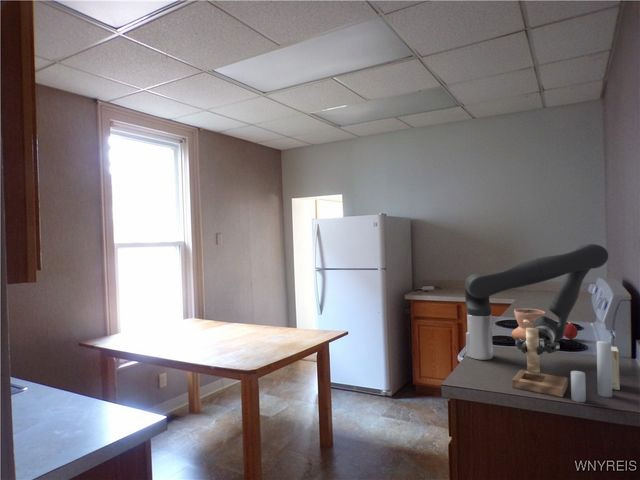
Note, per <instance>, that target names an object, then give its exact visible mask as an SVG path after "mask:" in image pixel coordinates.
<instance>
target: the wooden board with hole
mask: <svg viewBox="0 0 640 480" xmlns="http://www.w3.org/2000/svg"><path fill="white" fill-rule="evenodd" d="M568 382H569V381H568V377H565V376H558V375H553V374H547V373H542V372H540V373H538V374H534V373H529V372H528V371H527V370H524V369H520V370H518V372H517V373H516V374H515V376H514V377H513V378H512V388H514V389H518V390H519V389H520V390H525V391H529V392H533V393H534V392H535V393H540V394H545V395H549V396H550V395H551V396H556V397H560V398H563V397H564V395H565V393H566V390H567V388H568V386H569V385H568V384H569V383H568Z"/></svg>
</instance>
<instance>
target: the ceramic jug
mask: <svg viewBox="0 0 640 480" xmlns="http://www.w3.org/2000/svg"><path fill="white" fill-rule="evenodd" d="M513 314H514V317H515V320H516V322H517V324H518V326H517V327H516V328H515V329H513V330H512V331H511V337H512V338H513V339H514V340H515V341H516V338H517V337H518V338H520V339H521V340H524V339H525V338H526V328H534V323H535V321H536V319H537V318H538V317H540V316H546V312H545V311H544V310H541V309H535V308H515V309H513Z"/></svg>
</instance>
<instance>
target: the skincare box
mask: <svg viewBox="0 0 640 480" xmlns="http://www.w3.org/2000/svg"><path fill="white" fill-rule="evenodd" d="M611 360H612V390H616V391H620V389H621V387H620V384H621V383H620V360H619V349H618V346H613V345H611Z"/></svg>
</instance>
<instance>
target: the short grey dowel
mask: <svg viewBox="0 0 640 480" xmlns="http://www.w3.org/2000/svg"><path fill="white" fill-rule="evenodd" d="M586 389H587V388H586V373H585V372H584V371H580V370H572V371H571V370H570V392H571V394H570V395H571V396H570V397H571V400H572V401H574V402H576V403H585V402H586V401H587V396H586V394H587V393H586Z"/></svg>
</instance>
